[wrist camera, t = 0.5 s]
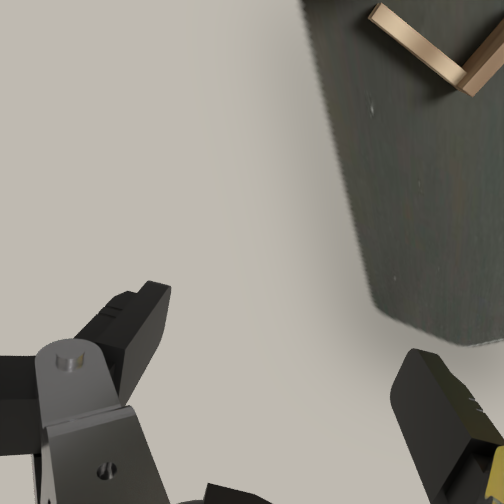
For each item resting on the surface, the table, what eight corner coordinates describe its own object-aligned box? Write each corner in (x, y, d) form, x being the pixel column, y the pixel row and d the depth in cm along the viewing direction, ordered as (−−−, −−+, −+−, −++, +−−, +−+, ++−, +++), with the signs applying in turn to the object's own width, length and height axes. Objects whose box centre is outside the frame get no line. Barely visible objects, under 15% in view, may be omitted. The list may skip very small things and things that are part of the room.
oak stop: (367, 18, 31) (374, 18, 28) (430, -76, 27) (445, -87, 24) (457, 89, 33) (472, 97, 30) (527, 12, 29) (551, 11, 27)
